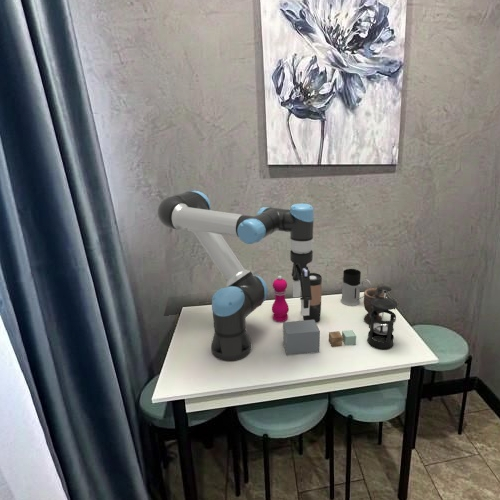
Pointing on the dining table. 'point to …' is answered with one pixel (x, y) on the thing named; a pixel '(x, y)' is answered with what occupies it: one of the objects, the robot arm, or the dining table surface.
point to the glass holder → (351, 287)
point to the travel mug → (315, 298)
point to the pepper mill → (280, 300)
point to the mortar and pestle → (370, 295)
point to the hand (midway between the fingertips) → (300, 305)
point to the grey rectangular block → (301, 337)
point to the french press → (381, 321)
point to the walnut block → (335, 339)
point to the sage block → (349, 337)
